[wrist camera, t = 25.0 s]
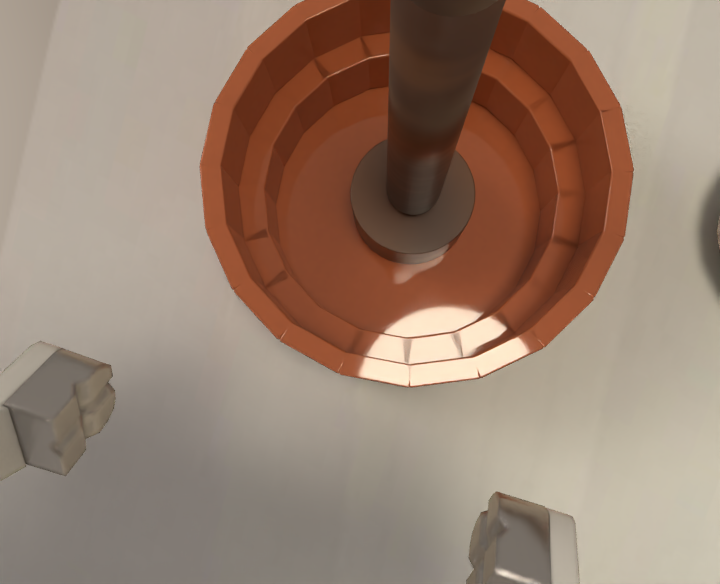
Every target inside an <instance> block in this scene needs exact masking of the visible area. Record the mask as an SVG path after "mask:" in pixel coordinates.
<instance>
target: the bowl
mask: <svg viewBox="0 0 720 584" xmlns="http://www.w3.org/2000/svg"><path fill="white" fill-rule="evenodd" d="M390 3H391V0H305V1H302V2H300V3H298V4H296V5H295V6H293V7H292V8H291V9H290V10H289V11H288V12H286V13H285V14H284V15H283V16H282V17H281V18H280V19H279V20H277V21H276V22H275V23H274V24H273V25H272V26H271V27H270V28H268V29H267V30H266V31H265V32H264V33H263V34H262V35H261V36H259V37H258V38H257V39H256V40H255V41H254V42H253V43H252V44H250V45H249V46H248V49H247V50H246V51H245V52H244V54H243V56H242V57H241V59H240V61H239V62H238V64H237V66H236V67H235V69H234V71H233V72H232V74H231V76H230V77H229V79H228V81H227V82H226V84H225V86H224V87H223V89H222V91H221V92H220V94H219V96H218V97H217V99H216V101H215V103H214V105H213V109H212V113H211V118H210V122H209V126H208V131H207V135H206V139H205V144H204V148H203V152H202V157H201V161H200V176H201V187H202V197H203V208H204V219H205V228H206V230H207V234H208V236H209V238H210V241H211V243H212V245H213V247H214V250H215V252H216V254H217V256H218V259H219V261H220V263H221V265H222V268H223V270H224V272H225V274H226V277H227V279H228V281H229V283H230V286H231V288H232V289H233V290H234V292H235V293H236V295H237V296H238V297H239V298H240V299H241V300H242V301H243V302H244V303H245V304H246V305H247V307H248V308H249V309H250V310H251V311H252V312H253V313H254V314H255V315H256V316H257V317H258V319H259V320H260V321H261V322H262V323H263V324H264V325H265V326H266V327H267V328H268V329H269V331H270V332H271V333H272V334H273V335H274V336H275V337H276V338H277V339H279V340H280V341H281V342H282V343H284V344H286V345H288V346H289V347H291V348H293V349H295V350H297V351H298V352H300V353H302V354H304V355H306V356H307V357H309V358H311V359H313V360H315V361H316V362H318V363H320V364H322V365H324V366H325V367H327V368H329V369H331V370H333V371H334V372H336V373H340V374H341V375H345V376H350V377H356V378H361V379H366V380H371V381H376V382H382V383H387V384H392V385H397V386H402V387H419V386H427V385H435V384H443V383H450V382H458V381H466V380H474V379H479V378H483V377H485V376H487V375H489V374H491V373H493V372H495V371H497V370H499V369H501V368H503V367H505V366H508V365H510V364H512V363H514V362H516V361H518V360H520V359H522V358H524V357H526V356H528V355H530V354H533V353H535V352H537V351H539V350H541V349H543V347H546V346H547V345H548V344H549V343H550V342H551V341H552V340H553V339H554V338H555V337H556V336H557V335H558V334H559V333H560V332H561V331H562V330H563V329H564V328H565V327H566V326H567V325H568V324H569V323H570V322H571V321H572V320H573V319H574V318H575V317H576V316H578V315H579V314H580V313H581V312H582V311H583V310H584V309H585V308H586V307H587V306H588V305H589V304H590V303H591V302H592V301H593V298H594V297H595V296H596V294H597V292H598V290H599V288H600V286H601V284H602V282H603V280H604V278H605V276H606V274H607V272H608V270H609V268H610V266H611V264H612V262H613V260H614V258H615V256H616V254H617V253H618V251H619V249H620V247H621V245H622V243H623V241H624V237H625V232H626V224H627V217H628V210H629V202H630V195H631V187H632V180H633V171H634V168H633V163H632V158H631V153H630V148H629V143H628V138H627V133H626V128H625V123H624V118H623V113H622V108H621V107H620V104H619V102H618V100H617V99H616V97H615V95H614V93H613V92H612V90H611V88H610V86H609V85H608V83H607V81H606V79H605V78H604V76H603V74H602V72H601V71H600V69H599V67H598V65H597V64H596V62H595V60H594V59H593V57H592V55H591V53H590V52H589V51H587V49H586V48H585V47H584V46H583V45H582V44H581V43H580V42H579V41H578V40H577V39H575V38H574V37H573V36H572V35H571V34H570V33H569V32H568V31H567V30H566V29H564V28H563V27H562V26H561V25H560V24H559V23H558V22H557V21H556V20H555V19H553V18H552V17H551V16H550V15H549V14H548V13H547V12H546V11H545V10H544V9H542V8H541V7H540V8H539V6H538V5H536V4H534V3H532V2H530V1H528V0H506V1H505V4H504V7H503V10H502V13H501V16H500V19H499V22H498V25H497V28H496V31H495V34H494V37H493V40H492V43H491V45H490V48H489V51H488V54H487V57H486V60H485V63H484V66H483V69H482V72H481V75H480V78H479V81H478V84H477V87H476V90H475V93H474V96H473V99H472V102H471V105H470V108H469V111H468V113H467V116H466V119H465V122H464V125H463V128H462V131H461V134H460V137H459V140H458V143H457V146H456V149H455V150H456V151H457V152H458V153H459V154H460V155H461V156H462V157H463V159H464V160H465V161H466V163H467V165H468V166H469V168H470V170H471V173H472V176H473V179H474V184H475V204H474V209H473V212H472V215H471V217H470V220H469V222H468V224H467V225H466V227H465V229H464V230H463V232H462V234H461V235H460V237H459V238H458V240H457V241H456V243H455V244H454V245H453V246H452V247H451V248H450V249H449V250H448V251H447V252H445V253H444V254H442V255H441V256H439V257H438V258H435V259H433V260H431V261H428V262H425V263H420V264H401V263H396V262H393V261H390V260H387V259H385V258H383V257H381V256H380V255H378V254H376V253H375V252H374V251H373V250H372V249H370V248H369V247H368V245H367V244H366V243H365V242H364V241H363V239H362V238H361V236H360V234H359V232H358V230H357V227H356V224H355V220H354V215H353V210H352V205H351V196H350V192H351V183H352V179H353V176H354V173H355V170H356V168H357V166H358V164H359V163H360V161H361V160H362V158H363V157H364V156H365V155H366V154H367V153H368V151H370V150H371V149H372V148H373V147H374V146H376V145H377V144H379V143H380V142H382V141H384V140H386V139H387V137H388V92H389V48H390Z"/></svg>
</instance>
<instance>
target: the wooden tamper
mask: <svg viewBox="0 0 720 584" xmlns="http://www.w3.org/2000/svg"><path fill="white" fill-rule="evenodd" d="M505 1H506V0H391V3H390V48H389V92H388V137H387V139H386V140H384V141H382V142H380V143H379V144H377V145H376V146H374V147H373V148H372V149H371V150H370V151H368V153H367V154H366V155H365V156H364V157H363V158H362V160H361V161H360V163H359V164H358V166H357V168H356V170H355V173H354V176H353V179H352V183H351V192H350V196H351V205H352V210H353V215H354V220H355V224H356V227H357V230H358V232H359V234H360V236H361V238H362V239H363V241H364V242H365V243H366V244H367V245H368V247H369V248H370V249H372V250H373V251H374V252H375V253H376V254H378V255H380V256H381V257H383V258H385V259H387V260H390V261H393V262H396V263H401V264H420V263H425V262H428V261H431V260H433V259H435V258H438V257H439V256H441V255H442V254H444V253H445V252H447V251H448V250H449V249H450V248H451V247H452V246H453V245H454V244H455V243H456V241H457V240H458V238H459V237H460V235H461V234H462V232H463V230H464V229H465V227H466V225H467V224H468V222H469V220H470V217H471V215H472V212H473V209H474V204H475V184H474V179H473V176H472V173H471V170H470V168H469V166H468V165H467V163H466V161H465V160H464V159H463V157H462V156H461V155H460V154H459V153H458V152H457V151H456V150H455V149H456V146H457V143H458V140H459V137H460V134H461V131H462V128H463V125H464V122H465V119H466V116H467V113H468V111H469V108H470V105H471V102H472V99H473V96H474V93H475V90H476V87H477V84H478V81H479V78H480V75H481V72H482V69H483V66H484V63H485V60H486V57H487V54H488V51H489V48H490V45H491V43H492V40H493V37H494V34H495V31H496V28H497V25H498V22H499V19H500V16H501V13H502V10H503V7H504V4H505Z"/></svg>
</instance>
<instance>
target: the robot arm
mask: <svg viewBox="0 0 720 584" xmlns="http://www.w3.org/2000/svg"><path fill="white" fill-rule="evenodd" d="M112 377H113V373H112V368H111V365H109V364H106V363H103V362H100V361H97V360H94V359H92V358H89V357H86V356H83V355H80V354H77V353H74V352H71V351H69V350H66V349H64V348H60V347H57V346H54V345H51V344H48V343H45V342H42V341H39V342H37V343H35V344H33V345H31V346H30V347H29V348H28V349H27V350H26V351H24V352H23V353H22V354H21V355H20V356H19V357H18V358H17V359H16V360H15V361H14V362H13V363H12V364H11V365H10V366H9V367H7V368H6V369H5V370H4V371H3V372H2V373H1V374H0V481H2V480H4V479H5V478H7V477H9V476H11V475H12V474H14V473H16V472H18V471H19V470H21V469H23V468H25V467H26V464H27V465H31V466H34V467H37V468H40V469H43V470H47V471H50V472H53V473H56V474H59V475H62V476H66V475H67V474H68V473H69V471H70V470H71V469H72V468H73V466H74V465H75V464H76V462H77V461H78V460H79V459H80V457H81V456H82V455H83V453H84V452H85V451H86V439H87V438H89V437H91V436H93V435H96V434H98V433H100V431H101V430H102V429H103V427H104V426H105V425H106V423H107V422H108V420H109V418H110V416H111V414H112V411H113V409H114V405H115V399H116V397H115V390H114V389H113V388H112V386H111V385H110V384H109V383H108V382H109V380H110V379H111V378H112ZM469 560H470V562H471V564H472V566H473V568H474V570H473V571H472V573H471V574H470V576H469V577H468V579H467V580H466V584H580V579H579V566H578V552H577V538H576V524H575V521H574V519H573V517H572V516H570V515H568V514H564V513H561V512H558V511H555V510H551V509H548V508H545V506H542V505H538V504H535V503H532V502H529V501H526V500H522V499H519V498H516V497H513V496H510V495H506V494H503V493H500V492H495V493H493V495H492V496H491V498H490V499H489V503H488V510H487V511H484V512H481V514H480V516H479V517H478V519H477V521H476V523H475V526H474V529H473V532H472V536H471V542H470V549H469Z"/></svg>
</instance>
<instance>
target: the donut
mask: <svg viewBox="0 0 720 584" xmlns="http://www.w3.org/2000/svg"><path fill="white" fill-rule="evenodd" d="M717 237H718V244H719V251H720V217H719V222H718V227H717Z"/></svg>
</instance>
